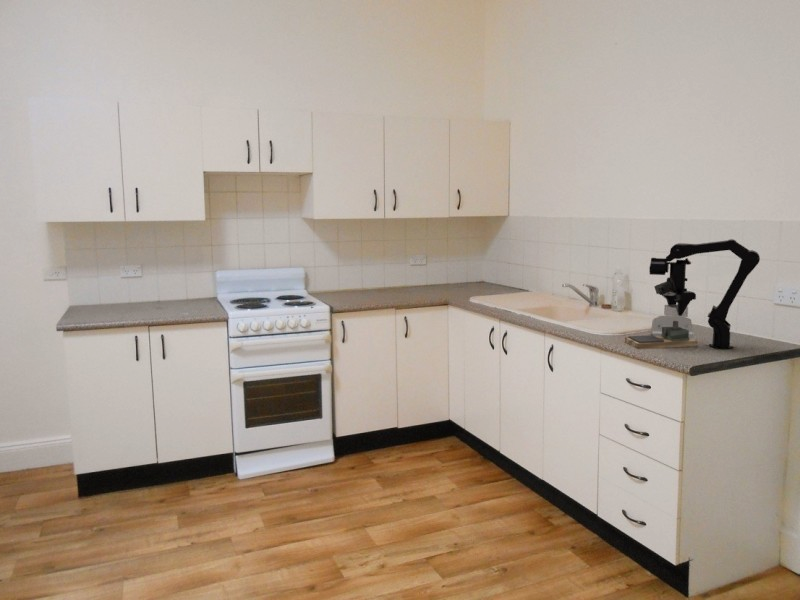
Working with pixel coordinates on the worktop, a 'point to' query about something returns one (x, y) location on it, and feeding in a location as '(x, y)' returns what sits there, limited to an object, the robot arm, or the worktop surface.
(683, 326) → the grey arched bracket
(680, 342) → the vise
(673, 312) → the collar
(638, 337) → the mat
